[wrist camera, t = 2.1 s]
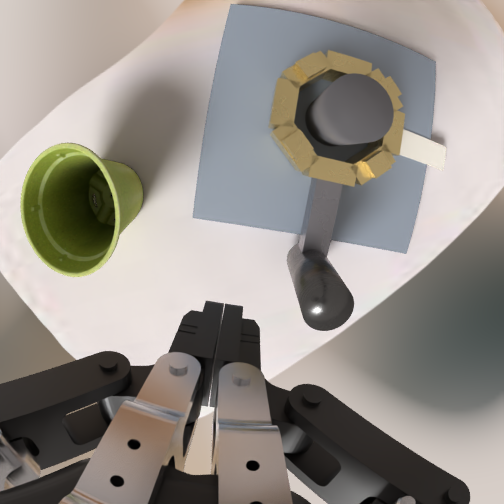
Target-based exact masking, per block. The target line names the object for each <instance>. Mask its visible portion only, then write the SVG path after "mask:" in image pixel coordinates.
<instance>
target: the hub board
mask: <svg viewBox="0 0 504 504" xmlns="http://www.w3.org/2000/svg"><path fill="white" fill-rule="evenodd" d="M328 50H330V51H334V52H338V53H341V54H345V55H348V56H351V57H354V58H357V59H361V60H364V61H367V62H369V63H372V70H371V72H372V71H374V70H376V69H378V68H379V70H380V71H381V73H382V74H383V76H384V77H385V78H387V77H389V76H391V78H392V79H393V81H394V82H395V84H396V85H397V87H398V88H399V90H400V92H401V93H402V94H401V95H400V96H398V98H399V100H400V101H401V103H402V105H403V107H402V108H400V109H398V110H397V111H400V112H402V113H405V120H404V128H403V135H402V142H401V149H400V155H399V156H393V155H392V156H393V157H394V159H395V161H396V162H395V163H393V164H392V165H391V166H392V168H391V169H389V170H388V171H386V172H385V173H384V174H382V175H381V176H379V177H378V178H376V179H375V178H372V179H370V180H369V181H367V182H366V183H364V184H363V185H358V184H355V186H354V187H353V186H349V185H344V184H343V186H342V191H341V196H340V201H339V205H338V210H337V215H336V219H335V224H334V228H333V233H332V237H331V240H334V241H340V242H346V243H351V244H357V245H362V246H368V247H373V248H378V249H384V250H389V251H394V252H399V253H405V254H406V253H407V250H408V246H409V243H410V239H411V236H412V232H413V228H414V224H415V220H416V216H417V212H418V208H419V203H420V199H421V194H422V189H423V184H424V179H425V173H426V168H427V165H429V166H432V167H434V168H437V169H439V170H442V171H443V169H444V163H445V156H446V149H447V147H445V146H442V145H440V144H438V143H436V142H433V141H431V133H432V124H433V113H434V99H435V76H436V62H435V61H433V60H431V59H429V58H427V57H425V56H423V55H421V54H419V53H417V52H415V51H413V50H411V49H409V48H406V47H404V46H402V45H400V44H397V43H395V42H393V41H390V40H388V39H385V38H383V37H380V36H377V35H375V34H372V33H369V32H366V31H363V30H361V29H358V28H354V27H351V26H348V25H345V24H341V23H338V22H334V21H331V20H327V19H323V18H319V17H315V16H311V15H306V14H301V13H296V12H291V11H286V10H280V9H273V8H266V7H258V6H249V5H237V4H231V6H230V9H229V13H228V17H227V21H226V25H225V30H224V34H223V38H222V42H221V47H220V51H219V56H218V61H217V65H216V70H215V75H214V80H213V85H212V90H211V96H210V101H209V107H208V112H207V118H206V124H205V130H204V137H203V143H202V150H201V156H200V163H199V170H198V178H197V186H196V194H195V202H194V211H193V218H196V219H203V220H210V221H217V222H224V223H230V224H237V225H244V226H250V227H256V228H263V229H269V230H275V231H281V232H287V233H294V234H301V229H302V224H303V219H304V214H305V209H306V204H307V199H308V194H309V189H310V184H311V178H312V177H308V176H305V175H302V172H299V171H296V170H295V169H294V168H293V166H292V165H291V163H290V162H289V161H288V159H287V158H286V156H285V155H284V154H283V152H282V151H281V150H280V148H279V147H278V145H277V144H276V143H275V141H274V140H273V139H272V137H271V136H270V134H271V132H272V131H273V130H275V129H271V128H268V125H269V119H270V113H271V107H272V101H273V96H274V90H275V85H276V82H277V79H278V78H280V77H281V73H282V71H284V70H286V69H287V68H289V67H291V66H293V65H294V64H295V62H297V61H298V60H300V59H302V58H304V57H306V56H308V55H310V54H311V53H313V52H314V53H317V52H319V51H321V52H322V53H323V54H324V55H325V54H326V52H327V51H328ZM393 118H394V109H393V104H392V101H391V99H390V96H389V95H388V93H387V91H386V90H385V89H384V88H383V86H382V85H381V84H379V83H378V82H377V81H376V80H374V79H373V78H371V77H369V76H366V75H363V74H357V73H352V74H346V75H343V76H341V77H339V78H338V79H336V80H335V81H334V82H330V81H326V80H322V79H321V80H319V81H317V82H315V83H314V84H312V85H310V86H309V87H307V88H305V89H304V90H302V91H300V92H299V94H298V100H297V107H296V113H295V119H294V124H295V125H296V126H297V128H298V129H300V130H301V131H302V132H303V134H304V135H305V137H306V138H307V139H308V141H309V142H310V144H311V145H312V147H313V148H314V149H313V150H314V152H315V153H316V155H317V156H321V157H325V158H329V159H334V160H338V161H342V162H345V161H346V160H348V159H349V158H351V157H352V156H354V155H355V154H357V153H359V152H360V151H362V150H363V149H365V148H366V147H368V143H369V142H374V141H377V140H379V139H381V138H382V137H384V136H385V135H386V134H387V133H388V131H389V130H390V128H391V126H392V123H393Z"/></svg>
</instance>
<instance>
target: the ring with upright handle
mask: <svg viewBox="0 0 504 504" xmlns="http://www.w3.org/2000/svg"><path fill="white" fill-rule="evenodd" d="M371 70H372V63H369V62H367V61H364V60H361V59H357V58H354V57H351V56H348V55H345V54H341V53H338V52H334V51H330V50H328V51H327V52H326V54H325V55H324V54H323V53H322V52H321V51H319V52H317V53H314V52H313V53H311V54H310V55H308V56H306V57H304V58H302V59H300V60H298V61H297V62H295V64H294V65H293V66H291V67H289V68H287V69H286V70H284V71H282V73H281V77H280V78H278V79H277V82H276V85H275V90H274V96H273V101H272V107H271V113H270V119H269V125H268V128H271V129H275V130H273V131H272V132H271V134H270V136H271V137H272V139H273V140H274V141H275V143H276V144H277V145H278V147H279V148H280V150H281V151H282V152H283V154H284V155H285V156H286V158H287V159H288V161H289V162H290V163H291V165H292V166H293V168H294V169H295V170H296V171H299V172H302V175H305V176H308V177H312V178H311V184H310V189H309V194H308V199H307V204H306V209H305V214H304V219H303V224H302V229H301V234H300V239H299V243H298V244H296V245H295V246H293V247H292V248H291V250H290V251H289V253H288V256H287V264H288V267H289V271H290V274H291V277H292V281H293V284H294V287H295V291H296V294H297V298H298V301H299V305H300V308H301V312H302V315H303V318H304V320H305V322H306V323H307V324H308V325H309V326H310V327H311V328H313V329H316V330H320V331H328V330H333V329H335V328H338V327H339V326H341V325H343V324H344V323H345V322H346V321H347V320H348V319H349V317H350V316H351V314H352V312H353V308H354V299H353V296H352V294H351V293H350V291H349V290H348V288H347V287H346V285H345V284H344V282H343V281H342V279H341V278H340V276H339V275H338V273H337V272H336V270H335V269H334V267H333V266H332V264H331V263H330V261H329V260H328V259H327V253H328V249H329V245H330V241H331V237H332V233H333V228H334V224H335V219H336V215H337V210H338V205H339V201H340V196H341V191H342V186H343V184H344V185H349V186H353V187H354V186H355V184H358V185H363V184H364V183H366V182H367V181H369V180H370V179H372V178H375V179H376V178H378V177H379V176H381V175H382V174H384V173H385V172H386V171H388V170H389V169H391V168H392V166H391V165H392V164H393V163H395V162H396V161H395V159H394V157H393V156H399V155H400V149H401V142H402V135H403V128H404V120H405V113H402V112H400V111H397V110H398V109H400V108H402V107H403V105H402V103H401V101H400V100H399V98H398V96H400V95H401V94H402V93H401V92H400V90H399V88H398V87H397V85H396V84H395V82H394V81H393V79H392V78H391V76H389V77H387V78H385V77H384V76H383V74H382V73H381V71H380V70H379V68H378V69H376V70H374V71H372V72H371ZM352 73H357V74H363V75H366V76H369V77H371V78H373V79H374V80H376V81H377V82H378V83H379V84H381V85H382V86H383V88H384V89H385V90H386V91H387V93H388V95H389V96H390V99H391V101H392V104H393V109H394V118H393V123H392V126H391V128H390V130H389V131H388V133H387V134H386V135H385V136H384V137H382V138H381V139H379V140H377V141H374V142H369V143H368V147H366V148H365V149H363V150H362V151H360V152H359V153H357V154H355V155H354V156H352V157H351V158H349V159H348V160H346V161H345V162H342V161H338V160H334V159H329V158H325V157H321V156H317V155H316V153H315V152H314V150H313V149H314V148H313V147H312V145H311V144H310V142H309V141H308V139H307V138H306V137H305V135H304V134H303V132H302V131H301V130H300V129H298V128H297V126H296V125H295V124H294V119H295V113H296V107H297V100H298V94H299V92H300V91H302V90H304V89H305V88H307V87H309V86H310V85H312V84H314V83H315V82H317V81H319V80H321V79H322V80H326V81H330V82H334V81H335V80H336V79H338V78H339V77H341V76H343V75H346V74H352ZM392 155H393V156H392Z"/></svg>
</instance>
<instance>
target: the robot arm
mask: <svg viewBox="0 0 504 504" xmlns="http://www.w3.org/2000/svg"><path fill="white" fill-rule="evenodd" d="M223 307H224V303H218V302H212V301H206V303H205V306H204V309H203V312H199V311H193V310H191V311H190V312H188V313H187V314H186V315H184V316H183V319H182V321H181V324H180V326H179V328H178V331H177V333H176V335H175V338H174V340H173V343H172V345H171V347H170V350H169V352H168V353H167V354H165V355H163V356H161V357H160V358H159V359H158V360H157V362H156V363H155V364H154V365H150V366H130V362H129V360H128V359H127V358H126V357H125V356H124V355H122V354H120V353H117V352H113V351H104V352H99V353H96V354H94V355H91V356H88V357H85V358H82V359H79V360H76V361H73V362H70V363H67V364H64V365H61V366H58V367H55V368H52V369H48V370H45V371H42V372H40V373H36V374H33V375H29V376H27V377H23V378H19V379H16V380H13V381H9V382H6V383H2V384H0V504H311V503H310V502H308V501H307V500H306V499H304V498H303V497H301V496H300V495H298V494H296V493H294V492H292V491H290V485H289V480H288V474H287V469H288V470H289V471H290V472H292V473H293V474H294V475H295V476H296V477H297V478H298V479H299V480H301V481H302V482H303V483H304V484H305V485H306V486H307V487H308V488H310V489H311V490H312V491H313V492H314V493H316V494H317V495H318V496H319V497H320V498H322V499H323V500H324V501H325V502H327V503H328V504H469V502H470V492H469V489H468V487H467V486H466V484H465V483H464V482H463V481H461V480H459V479H458V478H456V477H454V476H453V475H451V474H449V473H447V472H446V471H444V470H442V469H441V468H439V467H437V466H435V465H434V464H432V463H431V462H429V461H427V460H426V459H424V458H422V457H421V456H419V455H418V454H416V453H414V452H413V451H412V450H410V449H409V448H407V447H405V446H404V445H402V444H401V443H399V442H398V441H396V440H395V439H393V438H392V437H390V436H389V435H387V434H386V433H384V432H383V431H382V430H380V429H379V428H377V427H376V426H374V425H372V424H371V423H370V422H369V421H367V420H366V419H364V418H363V417H362V416H360V415H359V414H357V413H356V412H355V411H353V410H352V409H350V408H349V407H348V406H346V405H345V404H344V403H342V402H341V401H340V400H338V399H337V398H336V397H334V396H333V395H332V394H330V393H329V392H328V391H326V390H325V389H323V388H321V387H319V386H316V385H311V384H302V385H298V386H296V387H294V388H293V389H292V390H291V391H288V390H285V389H282V388H279V387H276V386H274V385H272V384H270V383H269V382H268V381H267V380H266V379H265V378H264V375H263V373H262V372H261V361H260V328H259V326H258V325H257V323H256V322H255V320H251V319H243V318H242V313H243V306H237V305H231V304H225V308H224V313H223ZM222 315H223V318H222ZM221 323H222V324H221ZM212 378H213V380H212ZM211 384H212V389H211ZM210 390H211V398H210V407H215V409H214V418H213V426H212V455H211V474H210V475H190V474H187V473H184V466H185V461H186V458H187V455H188V452H189V448H190V445H191V442H192V438H193V435H194V432H195V428H196V425H197V421H198V417H199V415H200V410H201V405H203V406H208V401H209V396H210ZM95 402H97V404H95V405H92V406H89V407H87V408H84V409H82V410H79V411H77V412H74V413H71V414H69V415H66V414H68V413H70V412H72V411H75V410H78V409H80V408H83V407H85V406H88V405H90V404H93V403H95ZM95 448H96V450H95V452H94V454H93V455H92V457H91V458H88V459H85V460H81V461H78V462H76V463H74V464H71V465H69V466H67V467H65V468H62V469H60V470H58V471H55V472H53V473H51V474H48V475H45V476H43V477H40V472H41V470H43V469H45V468H48V467H51V466H54V465H56V464H59V463H62V462H64V461H67V460H69V459H72V458H74V457H77V456H79V455H81V454H84V453H86V452H89V451H91V450H93V449H95ZM286 468H287V469H286ZM39 477H40V478H39Z"/></svg>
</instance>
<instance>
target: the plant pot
mask: <svg viewBox="0 0 504 504" xmlns="http://www.w3.org/2000/svg"><path fill="white" fill-rule="evenodd" d="M111 193H112V195H113V198H112V197H111V196H110V195H111ZM93 194H95V197H96V203H97V207H96V206H95V204H94V202H93ZM142 202H143V188H142V184H141V181H140V179H139V177H138V175H137V174H136V173H135V172H134V171H133V170H132V169H131V168H130V167H128V166H126V165H125V164H122V163H118V162H114V161H110V160H105V159H101V158H99V157H98V156H97V155H96V154H95V153H94V152H93V151H91V150H90V149H88V148H86V147H84V146H82V145H79V144H75V143H61V144H57V145H54V146H52V147H50V148H48V149H46V150H45V151H43V152H42V153H41V154H40V155H39V156H38V157H37V158H36V159H35V161H34V162H33V164H32V165H31V167H30V168H29V170H28V172H27V175H26V177H25V180H24V183H23V187H22V193H21V218H22V223H23V227H24V230H25V233H26V236H27V239H28V241H29V243H30V245H31V246H32V248H33V250H34V251H35V253H36V254H37V256H38V257H39V258H40V259H41V260H42V262H44V263H45V264H46V265H47V266H48V267H49V268H51V269H52V270H54V271H56V272H58V273H60V274H63V275H65V276H69V277H81V276H87V275H89V274H92V273H94V272H95V271H97V270H98V269H100V268H101V267H102V266H103V265H104V264H105V263H106V262H107V261H108V259H109V258H110V257H111V255H112V253H113V251H114V249H115V247H116V245H117V242H118V239H119V235H120V234H121V233H122V231H123V230H124V229H125V228H126V227H127V226H128V225H129V224H130V223H131V222H132V221H133V220H134V219H135V217H136V216H137V214H138V212H139V210H140V208H141V206H142ZM114 218H115V221H114Z"/></svg>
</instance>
